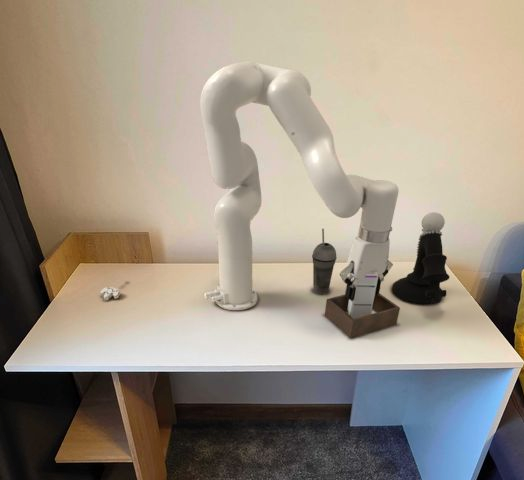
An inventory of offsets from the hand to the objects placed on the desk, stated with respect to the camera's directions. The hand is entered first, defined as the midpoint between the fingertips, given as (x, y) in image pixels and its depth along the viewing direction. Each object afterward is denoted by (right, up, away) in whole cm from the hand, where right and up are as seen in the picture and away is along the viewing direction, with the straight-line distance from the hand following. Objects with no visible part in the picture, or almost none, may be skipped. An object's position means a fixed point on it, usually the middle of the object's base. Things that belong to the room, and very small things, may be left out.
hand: (361, 294), depth 123 cm
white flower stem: (-72, +3, +16) cm, 73 cm away
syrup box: (0, -5, +4) cm, 7 cm away
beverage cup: (-9, +3, +18) cm, 20 cm away
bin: (0, -7, +5) cm, 8 cm away
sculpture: (+21, 0, +14) cm, 26 cm away
